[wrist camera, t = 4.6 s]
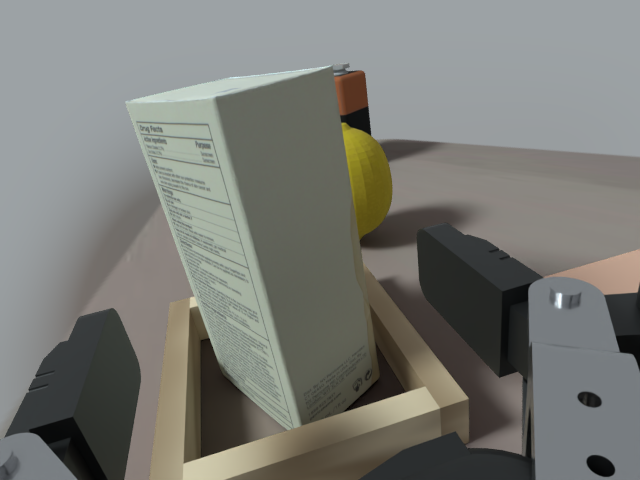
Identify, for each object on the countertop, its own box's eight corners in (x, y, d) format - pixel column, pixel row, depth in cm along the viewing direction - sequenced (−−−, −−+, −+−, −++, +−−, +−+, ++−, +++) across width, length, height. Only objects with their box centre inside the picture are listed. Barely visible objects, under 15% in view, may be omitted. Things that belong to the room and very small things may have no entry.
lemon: (333, 222, 33) (317, 115, 29) (405, 225, 31) (397, 110, 27) (301, 257, 28) (278, 137, 25) (382, 264, 26) (369, 132, 23)
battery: (352, 172, 44) (339, 67, 39) (302, 168, 48) (285, 72, 44) (375, 159, 46) (365, 59, 42) (326, 156, 51) (313, 65, 46)
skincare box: (383, 380, 18) (347, 63, 12) (302, 453, 15) (214, 94, 10) (287, 324, 22) (231, 73, 17) (212, 373, 20) (119, 96, 14)
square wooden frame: (360, 285, 24) (356, 254, 23) (468, 442, 15) (468, 398, 14) (181, 334, 23) (170, 302, 22) (167, 547, 13) (146, 505, 12)
